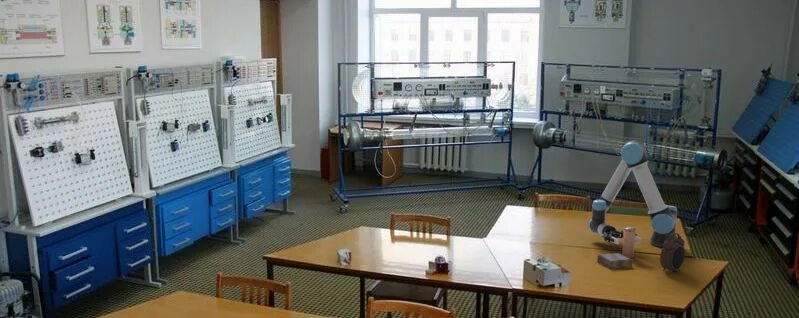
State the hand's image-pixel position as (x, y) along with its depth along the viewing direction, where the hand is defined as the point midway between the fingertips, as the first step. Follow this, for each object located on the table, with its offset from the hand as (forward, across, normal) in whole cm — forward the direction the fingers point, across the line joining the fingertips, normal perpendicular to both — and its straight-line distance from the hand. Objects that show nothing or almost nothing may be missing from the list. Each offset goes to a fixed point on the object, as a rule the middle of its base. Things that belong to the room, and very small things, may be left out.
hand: (629, 241), depth 387 cm
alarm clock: (+27, -8, -9) cm, 29 cm away
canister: (-1, 0, -9) cm, 9 cm away
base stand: (+9, +14, -9) cm, 19 cm away
